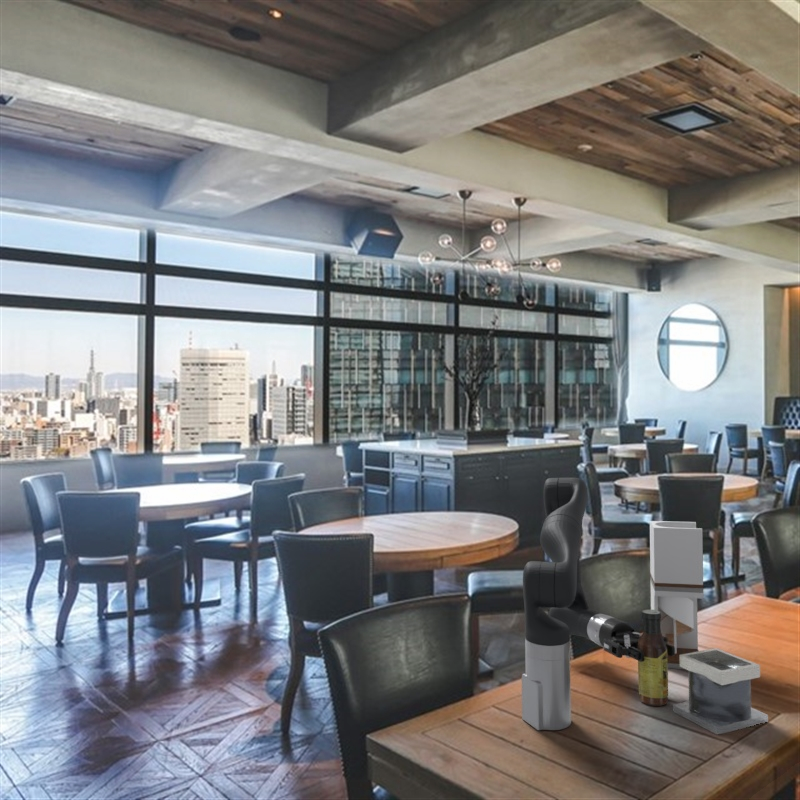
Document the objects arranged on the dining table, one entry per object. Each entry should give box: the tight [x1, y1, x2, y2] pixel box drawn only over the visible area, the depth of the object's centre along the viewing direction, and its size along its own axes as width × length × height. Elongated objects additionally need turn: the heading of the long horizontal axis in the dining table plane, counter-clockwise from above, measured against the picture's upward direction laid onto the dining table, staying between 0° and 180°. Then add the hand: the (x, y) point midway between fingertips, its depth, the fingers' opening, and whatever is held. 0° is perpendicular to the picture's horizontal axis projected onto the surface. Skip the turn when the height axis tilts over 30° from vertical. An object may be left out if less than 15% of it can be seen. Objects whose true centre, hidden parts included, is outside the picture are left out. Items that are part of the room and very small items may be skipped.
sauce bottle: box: [637, 609, 669, 707], centre depth 161 cm, size 7×6×20 cm
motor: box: [672, 647, 769, 736], centre depth 153 cm, size 14×12×12 cm
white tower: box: [649, 520, 704, 670], centre depth 186 cm, size 11×11×35 cm
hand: (658, 654), depth 160 cm, fingers open, 8 cm apart
